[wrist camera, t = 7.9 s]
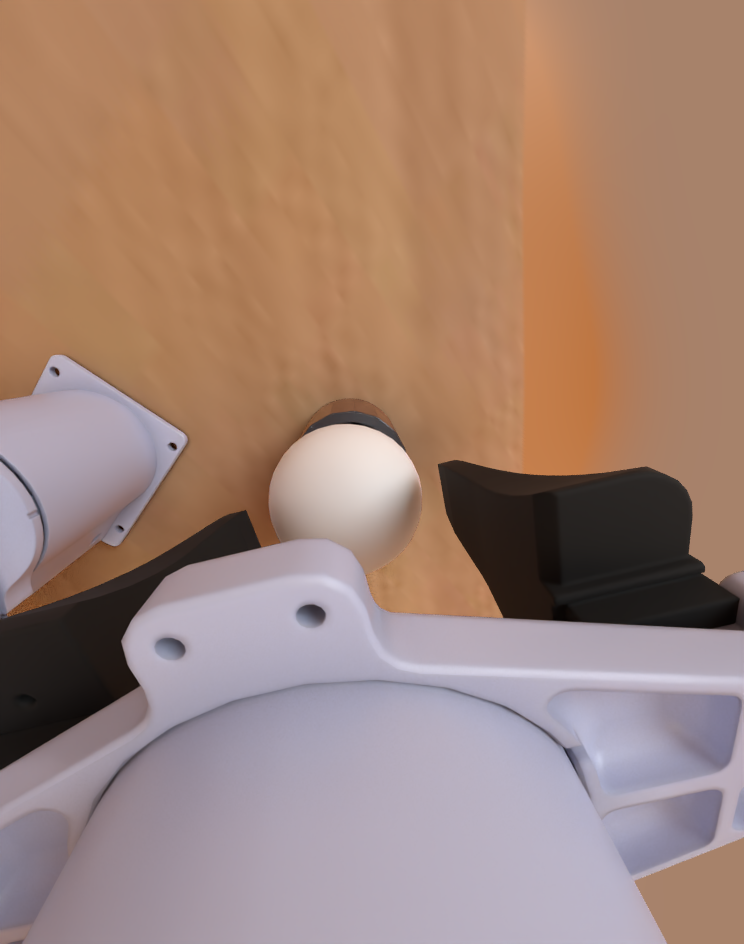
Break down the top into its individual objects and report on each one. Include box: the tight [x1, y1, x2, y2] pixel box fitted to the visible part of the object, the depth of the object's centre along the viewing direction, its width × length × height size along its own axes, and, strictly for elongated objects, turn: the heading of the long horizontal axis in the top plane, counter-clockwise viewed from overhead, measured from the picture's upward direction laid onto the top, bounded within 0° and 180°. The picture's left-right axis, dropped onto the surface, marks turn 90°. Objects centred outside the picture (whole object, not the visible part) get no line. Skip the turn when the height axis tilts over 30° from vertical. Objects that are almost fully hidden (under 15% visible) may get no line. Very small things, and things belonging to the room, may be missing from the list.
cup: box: [300, 399, 406, 452], centre depth 20 cm, size 6×6×4 cm
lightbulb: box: [269, 424, 422, 574], centre depth 17 cm, size 6×6×11 cm
